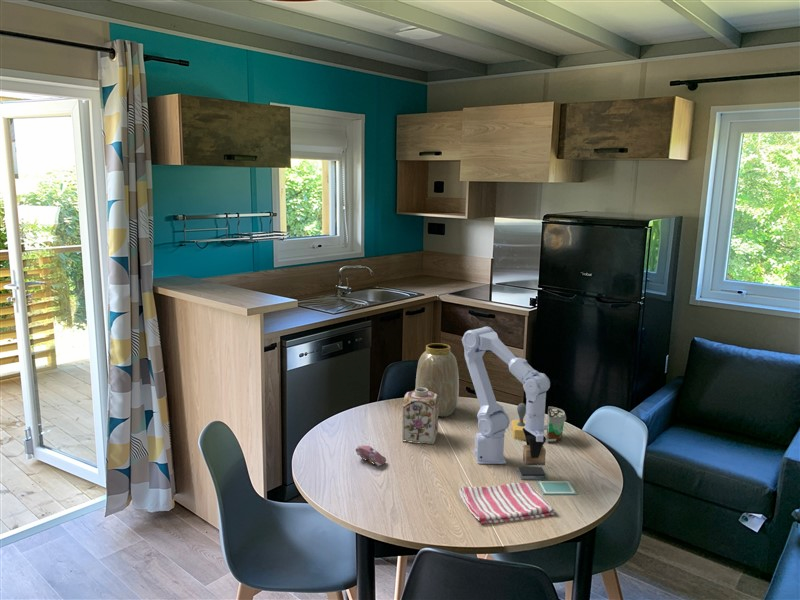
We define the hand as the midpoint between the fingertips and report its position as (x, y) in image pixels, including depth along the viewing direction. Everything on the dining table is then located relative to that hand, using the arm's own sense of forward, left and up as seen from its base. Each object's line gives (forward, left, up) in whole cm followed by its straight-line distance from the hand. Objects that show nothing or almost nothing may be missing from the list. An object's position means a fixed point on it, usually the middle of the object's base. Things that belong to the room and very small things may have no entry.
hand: (533, 454), depth 191 cm
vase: (-26, +56, -7) cm, 61 cm away
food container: (+15, +29, -7) cm, 33 cm away
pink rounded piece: (-51, +9, -7) cm, 52 cm away
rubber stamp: (+3, +33, -7) cm, 33 cm away
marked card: (+5, -8, -7) cm, 12 cm away
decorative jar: (-34, +30, -7) cm, 45 cm away
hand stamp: (0, 0, -3) cm, 3 cm away
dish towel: (-12, -18, -8) cm, 23 cm away
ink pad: (0, 0, -7) cm, 7 cm away
